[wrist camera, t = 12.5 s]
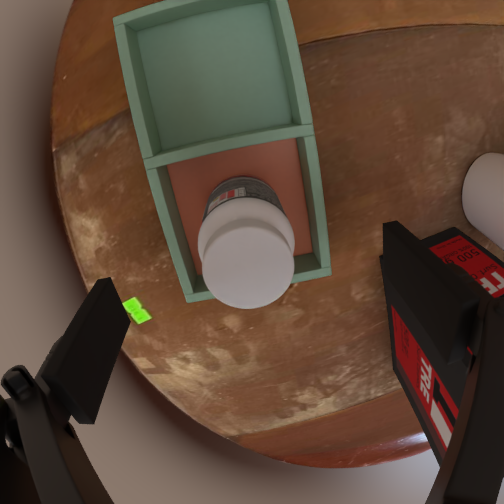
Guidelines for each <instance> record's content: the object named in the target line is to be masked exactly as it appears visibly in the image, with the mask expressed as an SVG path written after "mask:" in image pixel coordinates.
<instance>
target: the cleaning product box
mask: <svg viewBox="0 0 504 504" xmlns="http://www.w3.org/2000/svg"><path fill="white" fill-rule="evenodd" d="M421 242H422V243H424V244H425V245H426V246H427V247H428V248H429V249H430V250H431V251H432V252H434V253H435V254H436V255H437V256H438V257H439V258H440V259H441V260H442V261H443V262H445V263H446V264H447V263H450V262H452V263H454V264H457V265H459V266H461V267H462V268H464V269H465V270H466V271H467V272H468V273H469V275H471V276H472V277H473V278H474V279H475V281H476V280H477V281H478V282H479V283H480V284H481V285H482V286H483V287H484V288H485V289H486V290H487V291H488V292H489V293H490V294H491V295H492V296H493V297H494V298H496V297H504V263H503V262H502V261H501V260H500V259H498V258H497V257H496V256H494V255H493V254H492V253H490V252H489V251H488V250H486V249H485V248H484V247H482V246H481V245H479V244H478V243H477V242H475V241H474V240H473V239H471V238H470V237H468V236H467V235H465V234H464V233H463V232H461V231H460V230H458V229H457V228H455V227H453V228H450V229H448V230H445V231H443V232H441V233H438V234H436V235H433V236H431V237H428V238H426V239H423V240H421ZM379 257H380V263H381V269H382V276H383V282H384V289H385V296H386V304H387V311H388V320H389V329H390V338H391V349H392V361H393V370H394V372H395V374H396V376H397V378H398V380H399V382H400V383H401V385H402V387H403V389H404V391H405V393H406V395H407V397H408V400H409V402H410V404H411V406H412V408H413V410H414V412H415V414H416V416H417V418H418V420H419V422H420V424H421V426H422V429H423V431H424V433H425V435H426V437H427V439H428V442H429V444H430V446H431V448H432V450H433V452H434V455H435V457H436V459H437V462H438V464H439V466H440V467H441V464H442V462H443V459H444V456H445V453H446V450H447V447H448V444H449V441H450V438H451V435H452V432H453V429H454V426H455V422H456V419H457V415H458V412H459V408H460V404H461V400H462V396H463V392H464V388H465V384H466V379H467V375H468V374H466V371H467V368H468V365H469V363H470V360H471V357H472V354H473V353H472V352H471V350H470V349H469V348H468V347H467V350H466V353H465V356H464V359H461V360H459V361H456V362H454V363H451V364H449V365H447V364H446V362H445V361H444V359H443V358H442V356H441V355H440V353H439V352H438V350H437V349H436V347H435V346H434V344H433V343H432V341H431V340H430V338H429V337H428V335H427V334H426V333H425V331H424V330H423V328H422V327H421V325H420V324H419V322H418V321H417V320H416V318H415V317H414V315H413V314H412V313H411V311H410V310H409V308H408V307H407V306H406V304H405V303H404V302H403V300H402V299H401V297H400V296H399V295H398V293H397V292H396V291H395V289H394V288H393V287H392V285H391V284H390V283H389V281H388V280H387V279H386V277H385V276H384V275H383V255H382V256H379ZM503 477H504V476H503Z"/></svg>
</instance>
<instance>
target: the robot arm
mask: <svg viewBox="0 0 504 504" xmlns="http://www.w3.org/2000/svg"><path fill="white" fill-rule="evenodd" d="M383 275H384V276H385V277H386V279H387V280H388V281H389V283H390V284H391V285H392V287H393V288H394V289H395V291H396V292H397V293H398V295H399V296H400V297H401V299H402V300H403V302H404V303H405V304H406V306H407V307H408V308H409V310H410V311H411V313H412V314H413V315H414V317H415V318H416V320H417V321H418V322H419V324H420V325H421V327H422V328H423V330H424V331H425V333H426V334H427V335H428V337H429V338H430V340H431V341H432V343H433V344H434V346H435V347H436V349H437V350H438V352H439V353H440V355H441V356H442V358H443V359H444V361H445V362H446V364H447V365H449V364H451V363H454V362H456V361H459V360H461V359H464V356H465V353H466V350H467V347H468V348H469V349H470V350H471V352H472V353H473V354H472V357H471V360H470V363H469V365H468V368H467V371H466V374H468V375H467V379H466V384H465V388H464V392H463V396H462V400H461V404H460V408H459V412H458V415H457V419H456V422H455V426H454V429H453V432H452V435H451V438H450V441H449V444H448V447H447V450H446V453H445V456H444V459H443V462H442V464H441V467H440V470H439V472H438V475H437V477H436V480H435V482H434V484H433V487H432V489H431V491H430V494H429V496H428V498H427V500H426V503H425V504H496V501H497V497H498V494H499V490H500V487H501V483H502V479H503V476H504V297H496V298H494V297H493V296H492V295H491V294H490V293H489V292H488V291H487V290H486V289H485V288H484V287H483V286H482V285H481V284H480V283H479V282H478V281H477V280H476V281H475V279H474V278H473V277H472V276H471V275H469V273H468V272H467V271H466V270H465V269H464V268H462V267H461V266H459V265H457V264H454V263H452V262H450V263H447V264H446V263H445V262H443V261H442V260H441V259H440V258H439V257H438V256H437V255H436V254H435V253H434V252H432V251H431V250H430V249H429V248H428V247H427V246H426V245H425V244H424V243H422V242H421V241H420V240H419V239H418V238H417V237H416V236H414V235H413V234H412V233H411V232H410V231H409V230H407V229H406V228H405V227H404V226H403V225H401V224H400V223H399V222H398V221H392V222H387V223H383ZM130 322H131V321H130V319H129V317H128V315H127V313H126V311H125V309H124V306H123V304H122V302H121V300H120V298H119V295H118V293H117V291H116V289H115V286H114V284H113V282H112V279H111V277H108V278H103V279H98V280H97V281H96V283H95V284H94V286H93V288H92V289H91V291H90V292H89V294H88V295H87V297H86V299H85V300H84V302H83V303H82V305H81V307H80V308H79V310H78V311H77V313H76V314H75V316H74V318H73V320H72V321H71V323H70V325H69V326H68V328H67V330H66V331H65V333H64V335H63V336H61V337H60V338H59V339H58V340H57V341H56V342H55V343H54V345H53V346H52V348H51V350H50V352H49V354H48V355H47V357H46V360H45V361H44V362H43V364H42V366H41V368H40V370H39V372H38V373H37V375H36V377H35V379H33V378H32V376H31V375H30V373H29V372H28V370H27V369H26V368H25V366H23V365H17V366H14V367H12V368H11V369H10V370H8V371H7V372H6V373H5V374H4V376H3V378H2V380H1V385H2V387H3V388H4V389H5V390H6V392H7V393H8V394H9V395H10V396H11V398H9V399H5V400H4V398H3V397H2V396H1V395H0V504H114V502H113V501H112V499H111V498H110V496H109V494H108V493H107V491H106V490H105V488H104V486H103V484H102V482H101V481H100V479H99V477H98V475H97V474H96V472H95V470H94V468H93V466H92V465H91V463H90V461H89V459H88V457H87V455H86V453H85V451H84V449H83V447H82V445H81V443H80V441H79V438H78V436H77V435H76V432H75V430H74V428H73V426H72V425H71V424H70V423H69V419H70V416H71V415H72V416H73V417H74V419H75V420H76V421H77V422H78V423H79V424H94V423H95V420H96V417H97V414H98V411H99V407H100V404H101V402H102V398H103V396H104V393H105V390H106V387H107V384H108V381H109V378H110V375H111V372H112V370H113V367H114V364H115V362H116V359H117V356H118V354H119V351H120V348H121V346H122V343H123V340H124V338H125V335H126V333H127V330H128V328H129V325H130ZM5 438H6V439H7V440H8V441H9V442H10V447H8V446H7V444H6V440H5Z"/></svg>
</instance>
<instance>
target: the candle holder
mask: <svg viewBox="0 0 504 504" xmlns="http://www.w3.org/2000/svg"><path fill="white" fill-rule="evenodd" d="M462 205H463V210H464V213H465V216H466V218H467V219H468V221H469V222H470V223H471V224H472V225H473V226H474V227H475V228H476V229H477V230H478V231H480V232H481V233H482V234H483V235H485V236H486V237H487V238H488V239H490V240H491V241H492V242H493V243H494V244H496V245H497V246H498V247H499V248H501V249H502V250H503V251H504V154H500V153H493V152H491V153H486V154H483V155H481V156H480V157H479V158H477V159H476V160H475V161H474V163H473V164H472V165H471V167H470V168H469V170H468V172H467V175H466V177H465V180H464V184H463V190H462Z"/></svg>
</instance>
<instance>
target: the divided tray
mask: <svg viewBox="0 0 504 504" xmlns="http://www.w3.org/2000/svg"><path fill="white" fill-rule="evenodd" d="M113 23H114V30H115V35H116V41H117V47H118V52H119V57H120V62H121V67H122V72H123V77H124V82H125V87H126V91H127V96H128V101H129V105H130V109H131V114H132V118H133V122H134V126H135V130H136V135H137V139H138V143H139V146H140V150H141V154H142V158H143V162H144V165H145V169H146V173H147V177H148V181H149V184H150V188H151V191H152V195H153V198H154V202H155V205H156V209H157V212H158V215H159V219H160V222H161V225H162V228H163V232H164V235H165V238H166V241H167V244H168V248H169V251H170V254H171V257H172V260H173V263H174V266H175V269H176V272H177V275H178V278H179V281H180V284H181V287H182V290H183V293H184V295H185V298H186V301H187V303H190V302H196V301H202V300H207V299H213V298H216V297H215V296H214V295H213V294H212V293H211V292H210V290H209V289H208V288H207V286H206V284H205V281H204V278H203V274H202V262H201V259H200V256H199V252H198V235H199V230H200V226H201V222H202V218H203V215H204V211H205V207H206V203H207V200H208V197H209V195H210V193H211V192H212V190H213V189H214V188H215V187H216V186H217V185H218V184H219V183H220V182H221V181H223V180H225V179H227V178H229V177H232V176H235V175H251V176H255V177H258V178H260V179H262V180H264V181H265V182H267V183H268V184H269V185H270V186H271V187H272V188H273V190H274V191H275V193H276V194H277V196H278V199H279V201H280V203H281V205H282V207H283V209H284V212H285V214H286V216H287V218H288V220H289V222H290V224H291V227H292V230H293V233H294V240H295V246H294V253H293V258H294V274H293V278H292V281H291V283H296V282H301V281H306V280H311V279H316V278H320V277H325V276H330V275H332V271H331V260H330V249H329V239H328V229H327V220H326V212H325V203H324V195H323V187H322V180H321V173H320V166H319V159H318V152H317V145H316V139H315V135H314V134H315V133H314V127H313V124H312V123H313V120H312V114H311V108H310V103H309V97H308V92H307V87H306V82H305V76H304V71H303V67H302V62H301V57H300V52H299V48H298V43H297V39H296V34H295V30H294V26H293V21H292V17H291V13H290V9H289V5H288V1H287V0H164V1H161V2H157V3H154V4H151V5H148V6H144V7H141V8H138V9H135V10H133V11H130V12H127V13H124V14H121V15H119V16H116V17H114V18H113ZM291 283H290V284H291Z"/></svg>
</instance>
